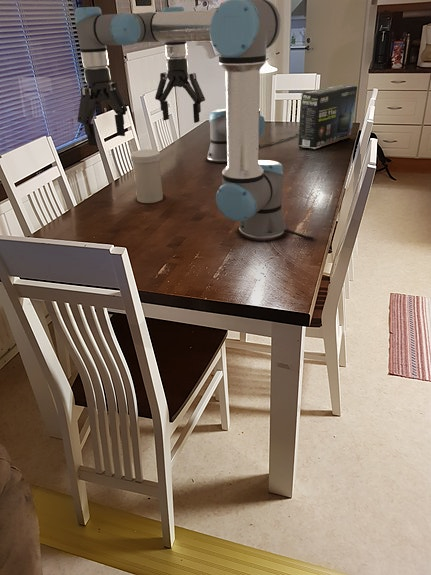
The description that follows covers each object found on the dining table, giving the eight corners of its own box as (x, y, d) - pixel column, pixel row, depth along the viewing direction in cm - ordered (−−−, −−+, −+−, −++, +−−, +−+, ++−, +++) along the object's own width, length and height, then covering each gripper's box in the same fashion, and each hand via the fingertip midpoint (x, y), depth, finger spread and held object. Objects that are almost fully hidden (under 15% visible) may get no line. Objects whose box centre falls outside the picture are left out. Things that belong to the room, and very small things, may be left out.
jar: (139, 204, 175) (133, 159, 167) (135, 196, 184) (129, 152, 175) (165, 200, 178) (161, 156, 169) (160, 192, 186) (155, 149, 178)
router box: (314, 151, 231) (318, 94, 217) (296, 148, 237) (299, 92, 224) (352, 138, 251) (358, 85, 238) (335, 135, 258) (340, 83, 245)
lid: (133, 165, 167) (132, 158, 166) (129, 157, 176) (128, 151, 175) (162, 161, 170) (162, 155, 169) (157, 154, 179) (156, 148, 178)
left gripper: (141, 58, 164) (148, 120, 175) (201, 59, 153) (205, 125, 164) (153, 56, 170) (159, 116, 181) (212, 57, 159) (215, 120, 170)
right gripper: (114, 63, 147) (123, 131, 158) (55, 72, 129) (70, 148, 140) (132, 63, 144) (140, 132, 155) (75, 72, 126) (88, 150, 137)
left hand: (181, 120), depth 172 cm, fingers open, 13 cm apart
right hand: (107, 140), depth 148 cm, fingers open, 13 cm apart
